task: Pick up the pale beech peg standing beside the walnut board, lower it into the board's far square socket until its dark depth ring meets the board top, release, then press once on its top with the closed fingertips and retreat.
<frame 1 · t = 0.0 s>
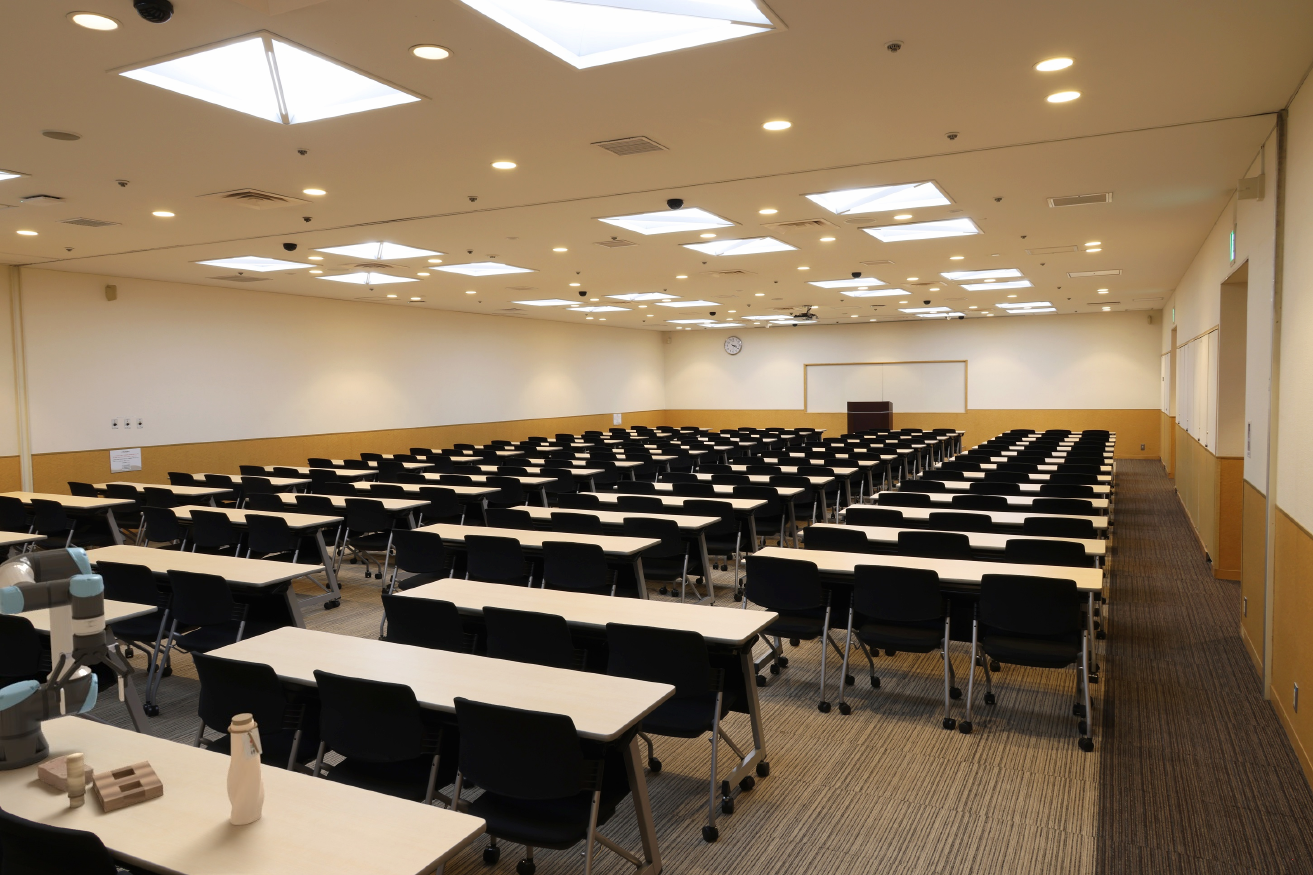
hand: (92, 706, 228), 28 cm above the table, fingers open, 13 cm apart
board: (127, 789, 237), on the table
peg: (77, 804, 229), on the table
brick: (66, 780, 244), on the table
water bottle: (248, 818, 222), on the table
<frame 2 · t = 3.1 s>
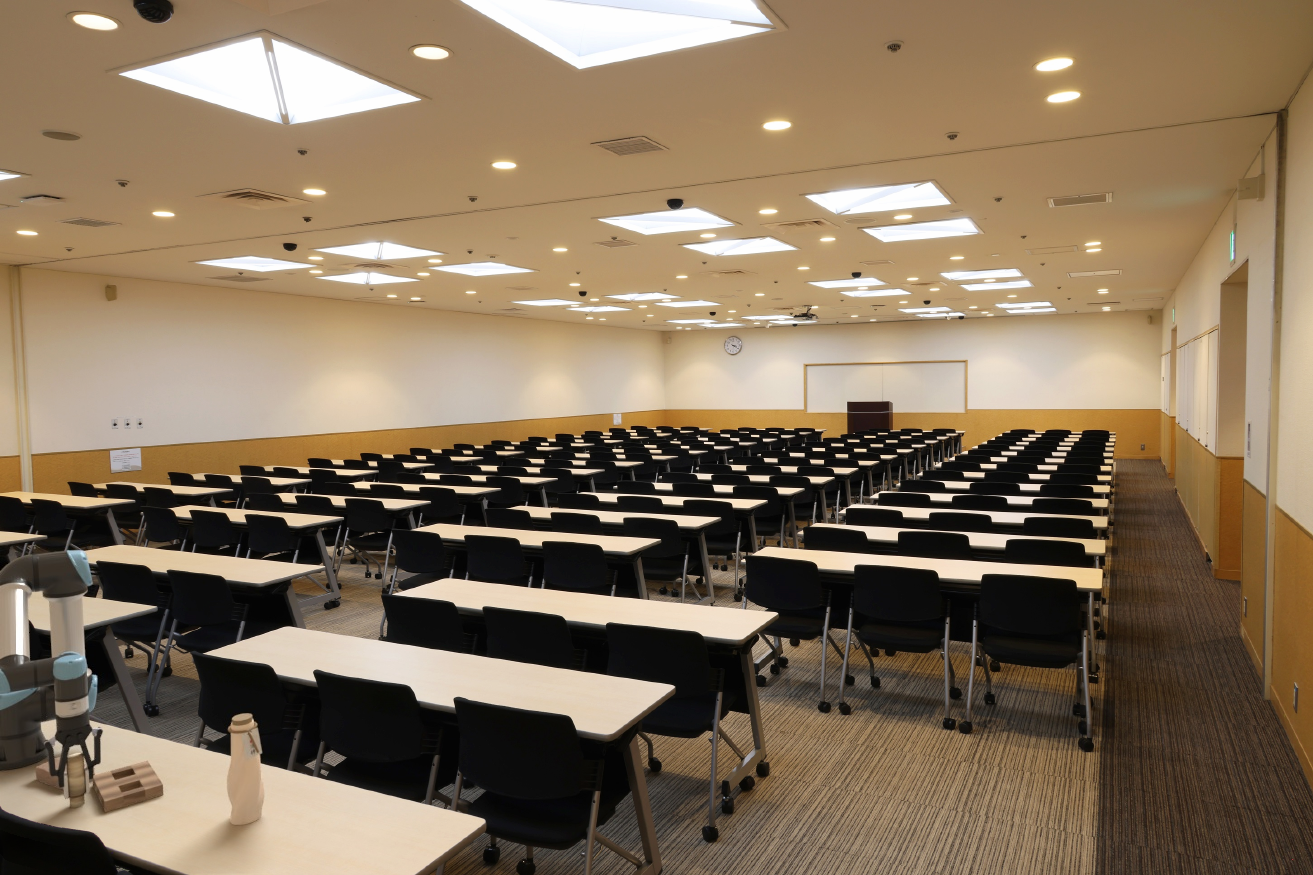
hand: (76, 793, 229), 3 cm above the table, fingers closed on peg, 4 cm apart
peg: (77, 804, 229), on the table, touching gripper
everything else where it was.
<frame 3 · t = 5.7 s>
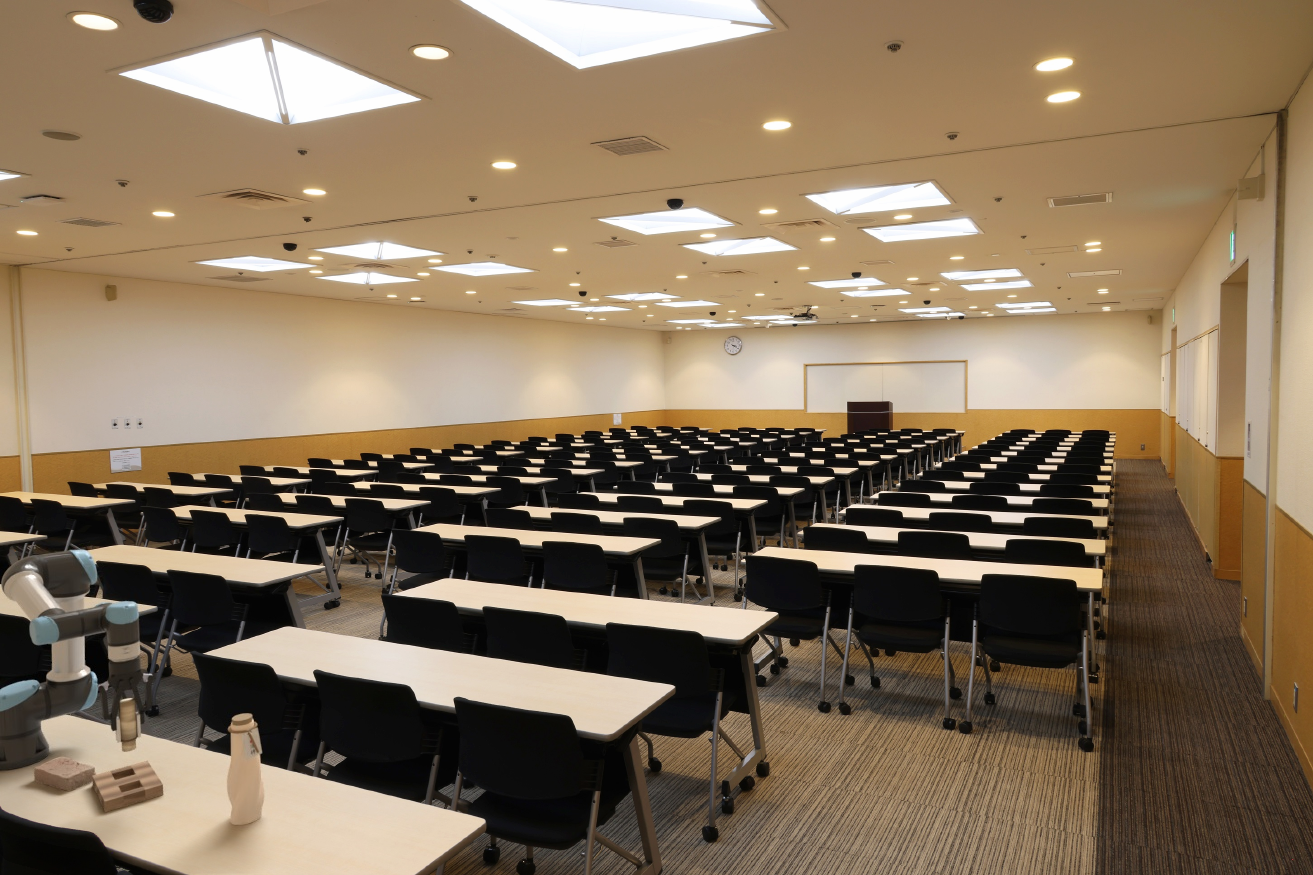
hand: (128, 737, 232), 17 cm above the table, fingers closed on peg, 4 cm apart
peg: (129, 748, 232), point 14 cm above the table, touching gripper
everything else where it was.
when the fingers open (5 cm above the table, at t = 8.4 s): peg drops 1 cm, resting in board.
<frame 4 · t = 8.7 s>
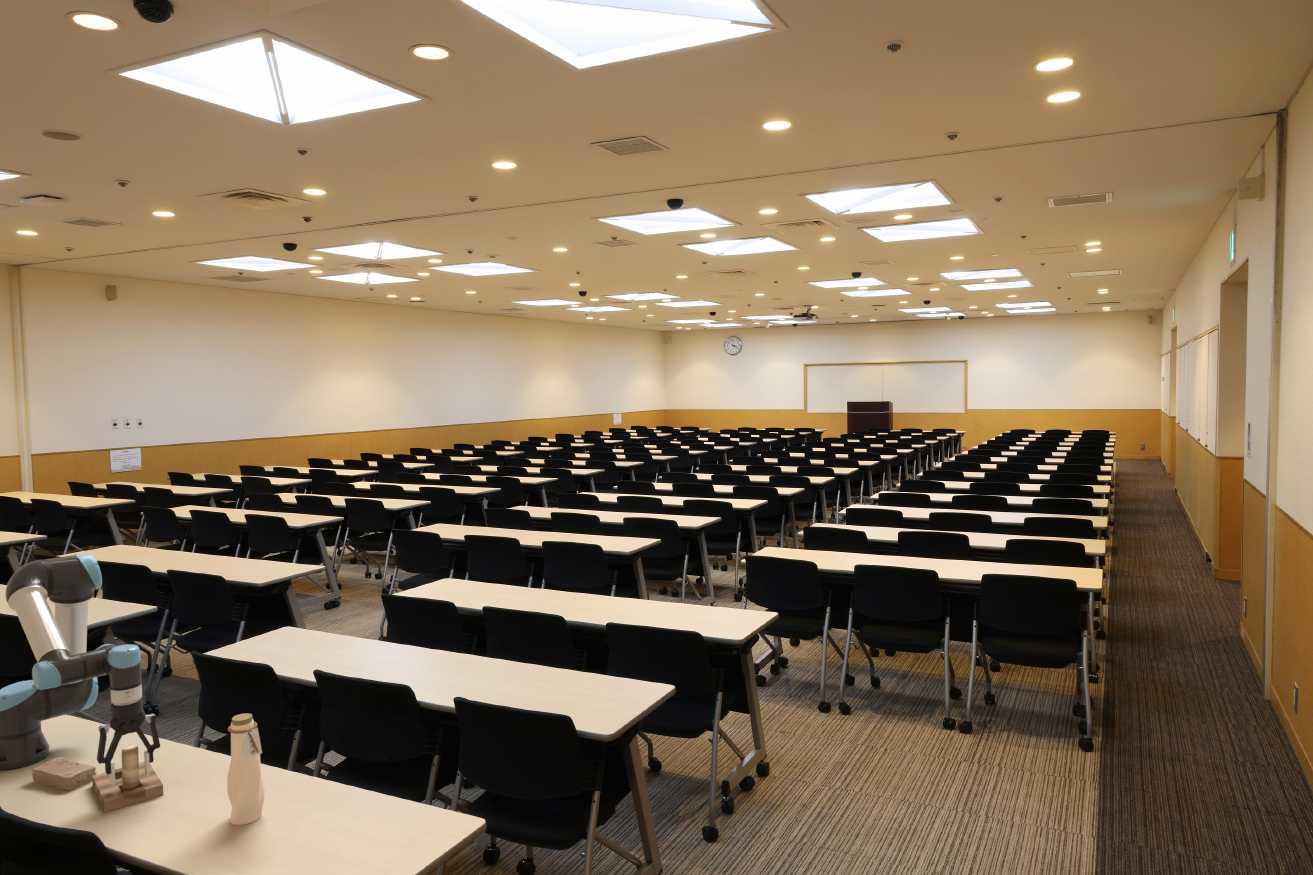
hand: (130, 778, 233), 5 cm above the table, fingers open, 8 cm apart
peg: (131, 796, 233), resting in board
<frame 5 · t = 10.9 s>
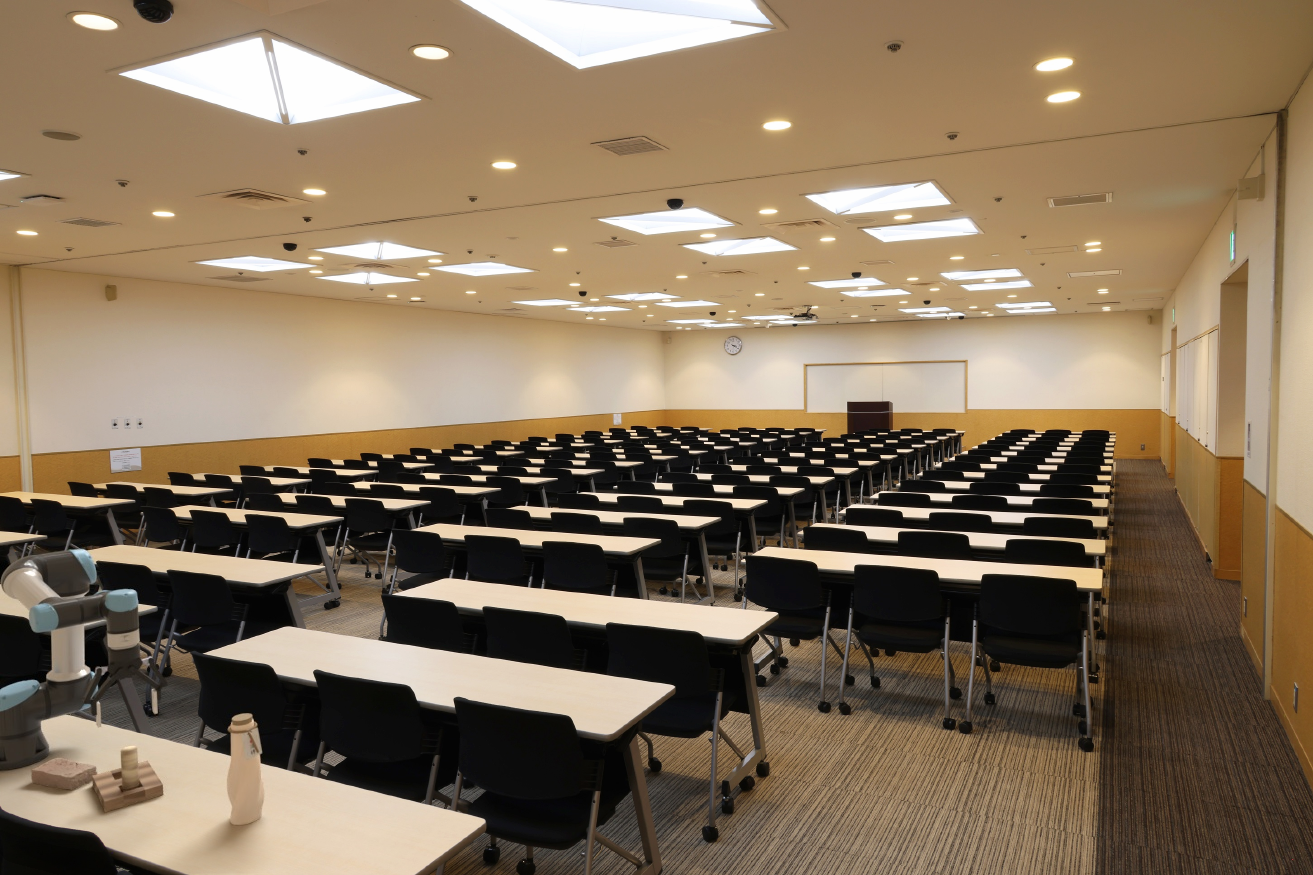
hand: (127, 718, 232), 23 cm above the table, fingers open, 13 cm apart
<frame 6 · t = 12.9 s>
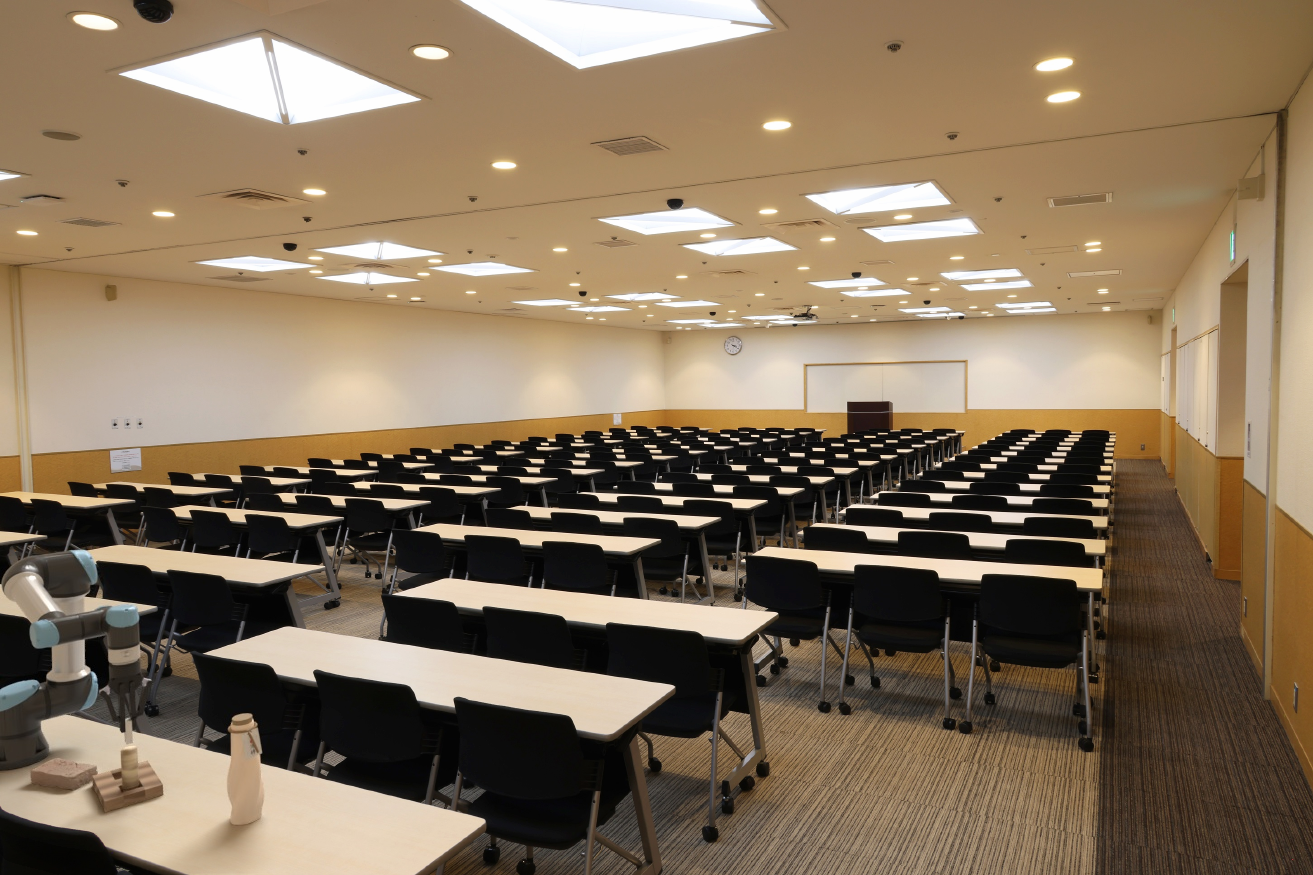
hand: (128, 741, 232), 16 cm above the table, fingers closed
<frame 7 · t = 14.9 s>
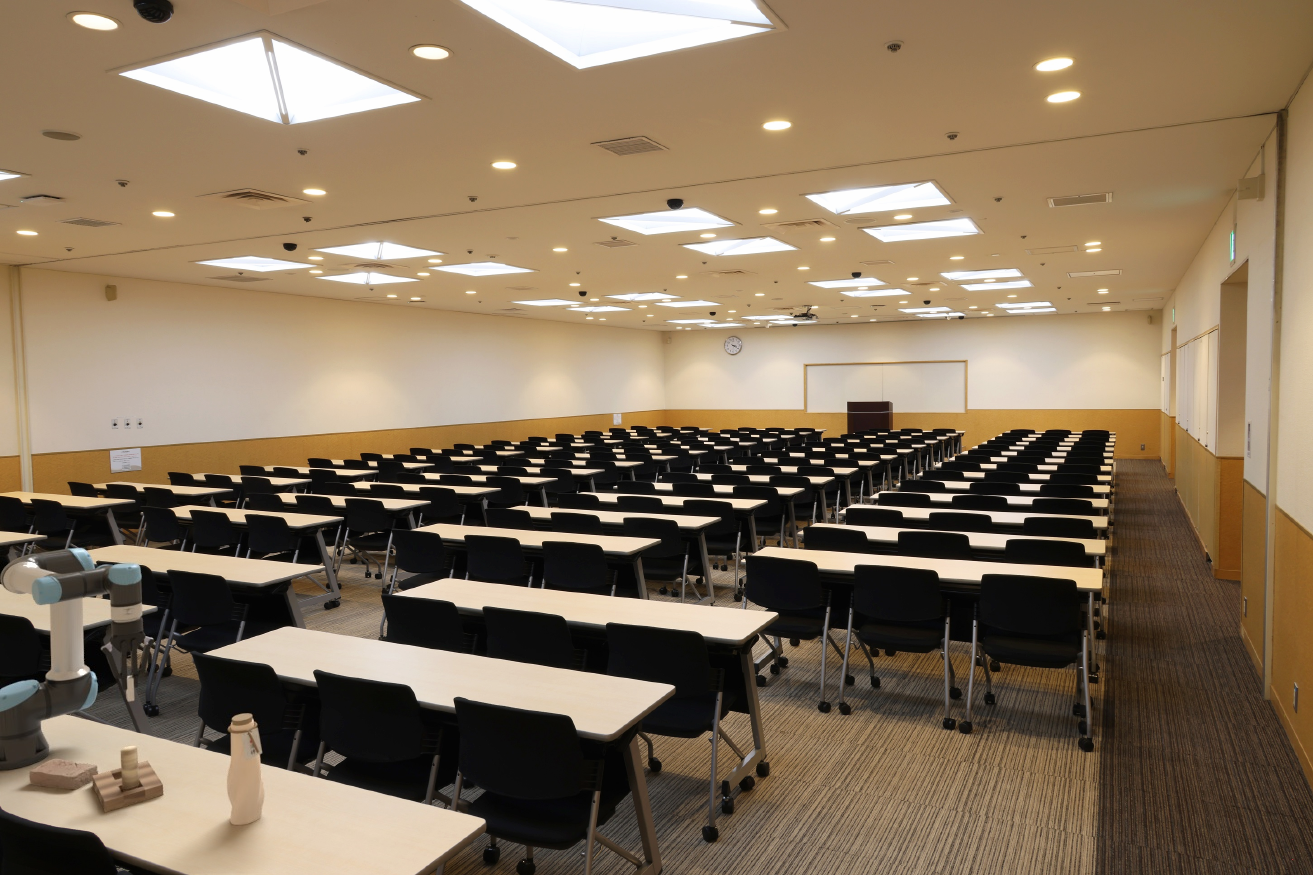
hand: (130, 699, 234), 27 cm above the table, fingers closed
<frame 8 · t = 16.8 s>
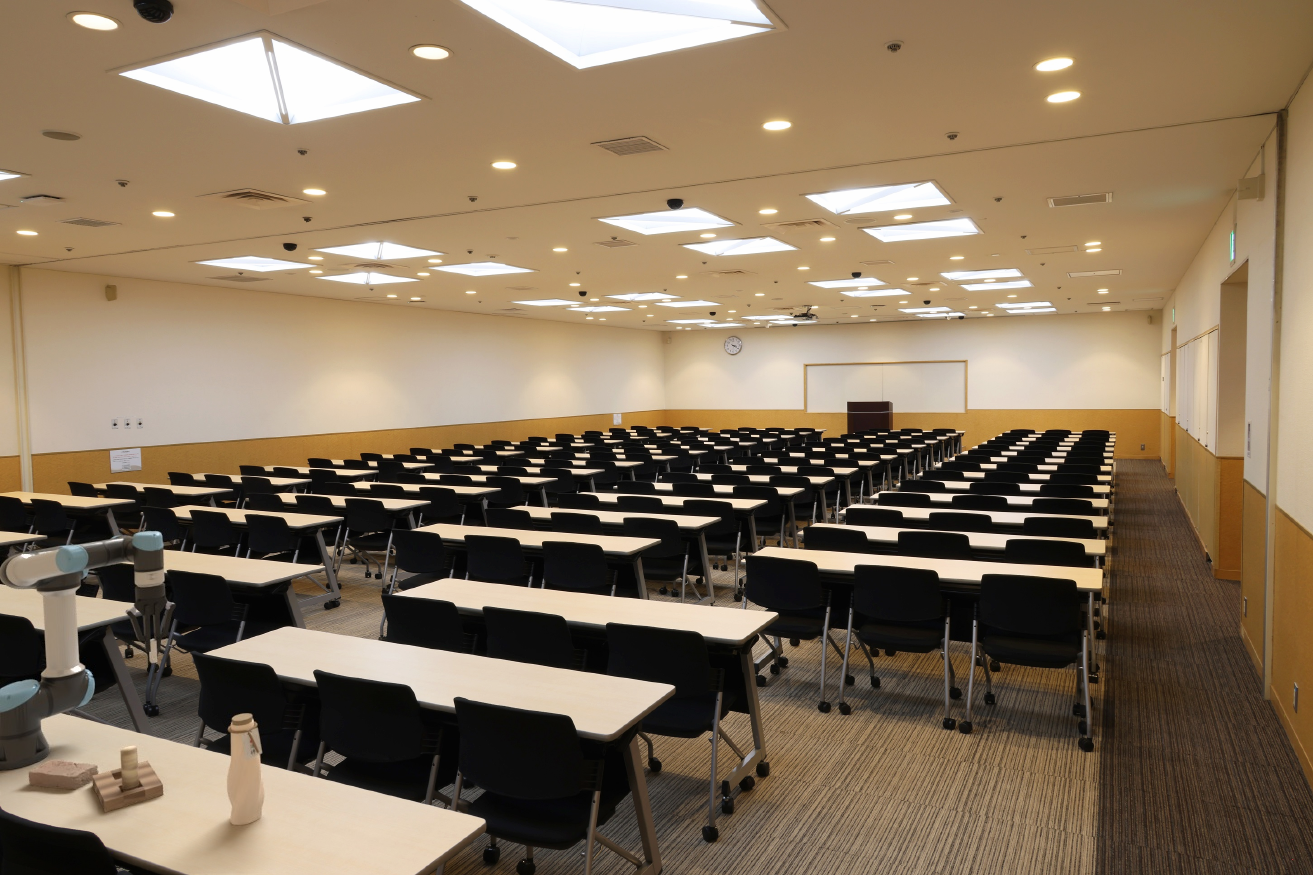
hand: (153, 661, 245), 34 cm above the table, fingers closed
at the end: peg 0.0 cm from the target spot on the board, point 0.0 cm above the board's base; peg tilted 0°; the gripper is holding nothing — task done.
